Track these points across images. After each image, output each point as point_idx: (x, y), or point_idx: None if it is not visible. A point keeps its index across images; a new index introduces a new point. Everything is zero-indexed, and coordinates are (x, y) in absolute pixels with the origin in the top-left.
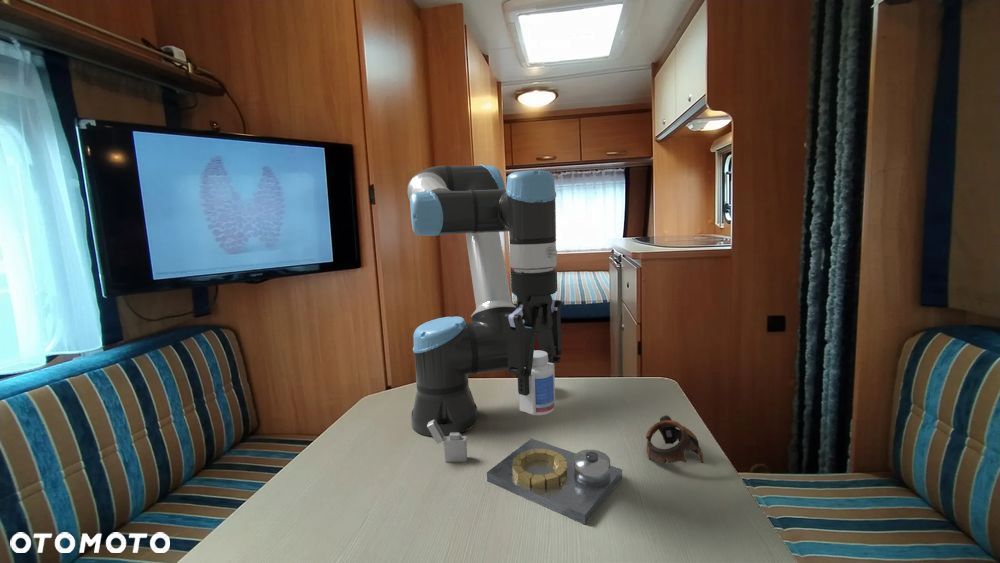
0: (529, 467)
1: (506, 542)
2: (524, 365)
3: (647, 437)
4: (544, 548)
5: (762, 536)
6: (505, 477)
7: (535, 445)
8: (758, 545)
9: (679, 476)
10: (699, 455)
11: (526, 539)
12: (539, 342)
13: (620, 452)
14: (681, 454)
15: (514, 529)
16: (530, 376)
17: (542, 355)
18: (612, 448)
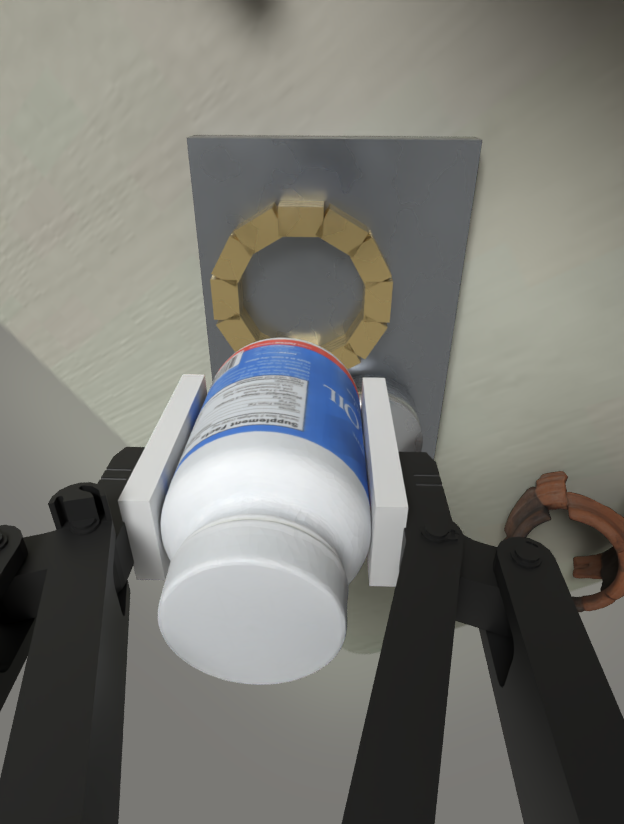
0: (301, 252)
1: (62, 341)
2: (25, 653)
3: (568, 512)
4: (112, 411)
5: (379, 644)
6: (207, 217)
7: (436, 189)
8: (355, 641)
9: (495, 536)
10: (573, 573)
11: (102, 371)
12: (379, 659)
13: (552, 408)
14: None
15: (104, 333)
16: (137, 566)
17: (246, 670)
18: (567, 383)
